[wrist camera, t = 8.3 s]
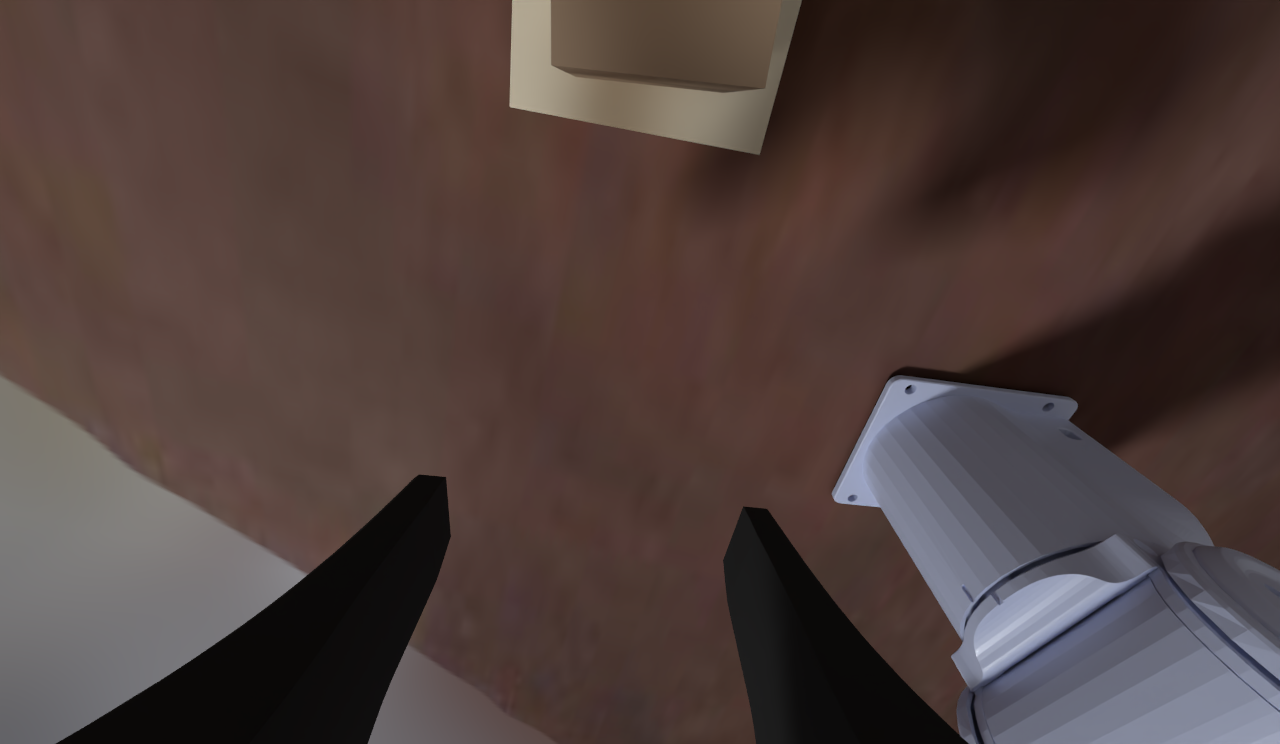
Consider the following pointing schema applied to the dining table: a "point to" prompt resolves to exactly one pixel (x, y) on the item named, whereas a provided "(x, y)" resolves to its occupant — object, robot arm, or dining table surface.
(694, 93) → the maple base block
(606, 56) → the walnut block
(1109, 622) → the robot arm
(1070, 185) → the dining table surface
